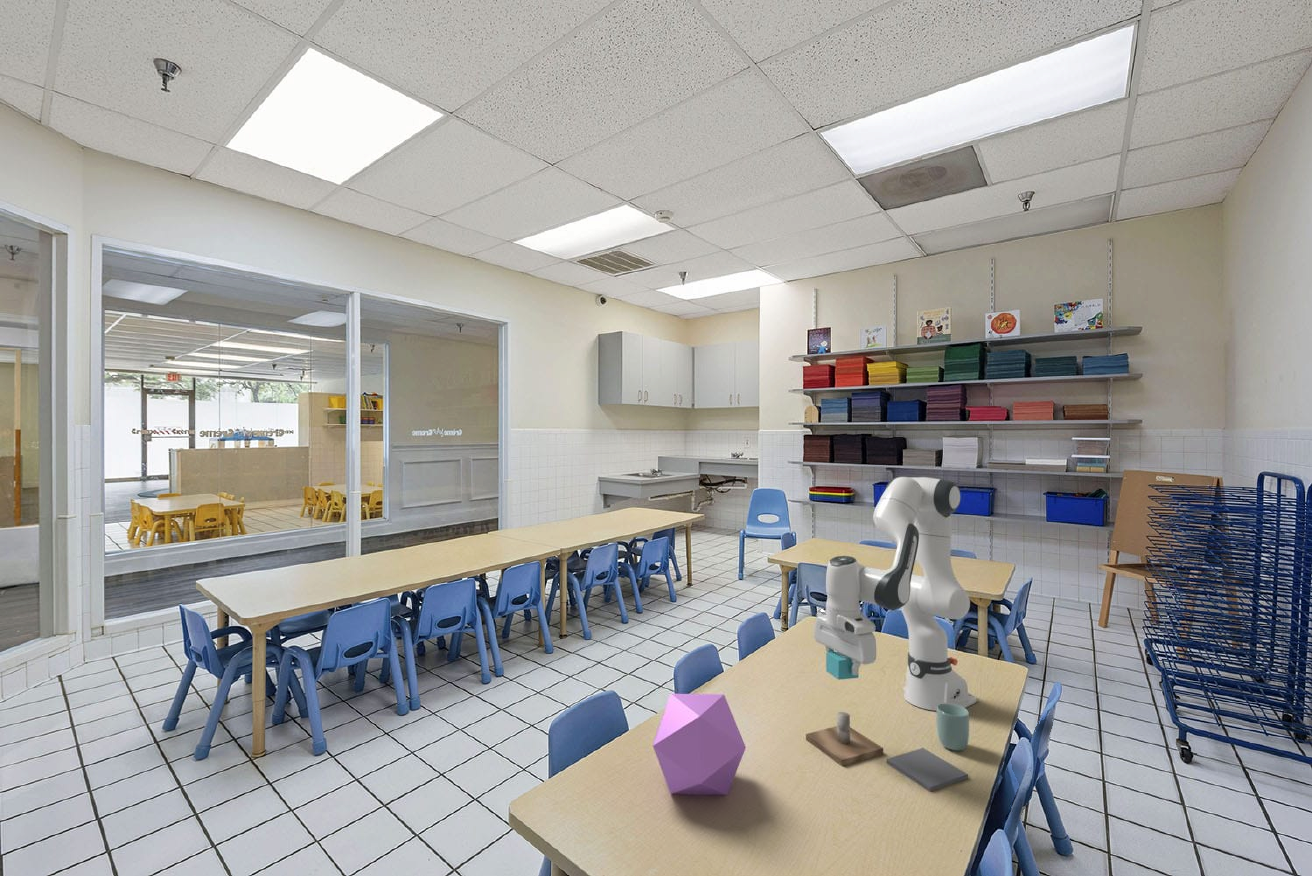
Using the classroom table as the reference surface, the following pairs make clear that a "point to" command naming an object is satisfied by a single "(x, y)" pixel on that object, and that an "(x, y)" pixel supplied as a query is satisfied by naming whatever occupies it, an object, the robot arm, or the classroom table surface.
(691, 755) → the icosahedron
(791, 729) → the classroom table surface
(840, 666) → the teal cube
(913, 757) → the mat
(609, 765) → the classroom table surface
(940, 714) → the cup
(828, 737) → the post base
